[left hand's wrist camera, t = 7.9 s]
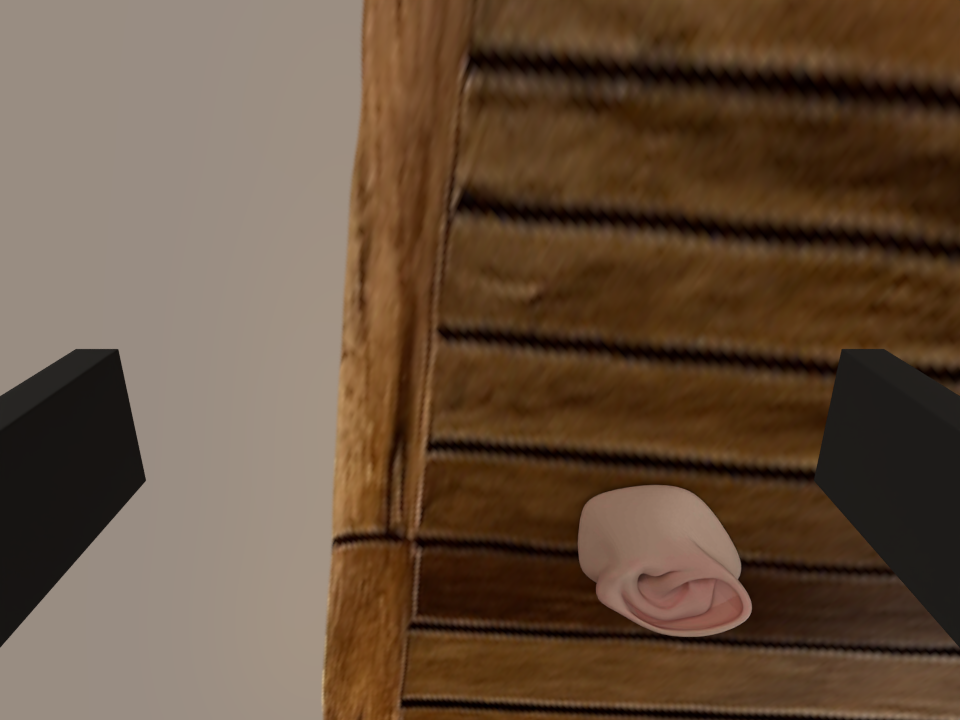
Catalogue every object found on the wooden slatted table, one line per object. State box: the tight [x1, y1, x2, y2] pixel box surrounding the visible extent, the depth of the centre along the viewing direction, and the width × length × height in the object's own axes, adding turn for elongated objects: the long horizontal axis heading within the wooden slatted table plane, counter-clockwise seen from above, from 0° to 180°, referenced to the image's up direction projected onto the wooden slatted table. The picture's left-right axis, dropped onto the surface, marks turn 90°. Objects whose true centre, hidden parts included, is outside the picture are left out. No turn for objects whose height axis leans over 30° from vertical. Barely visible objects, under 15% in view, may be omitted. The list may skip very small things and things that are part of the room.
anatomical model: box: [578, 485, 752, 637], centre depth 50 cm, size 13×4×12 cm
